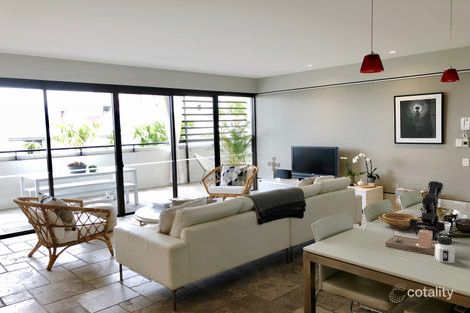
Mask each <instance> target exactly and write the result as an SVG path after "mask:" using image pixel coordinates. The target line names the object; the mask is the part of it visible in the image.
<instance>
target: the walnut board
mask: <svg viewBox="0 0 470 313" xmlns="http://www.w3.org/2000/svg"><path fill="white" fill-rule="evenodd" d="M418 244H419V238H415V237H408V236H401V235H395V234H394V235H393V236H391V237H389V239H387V240H386V241H385V248H391V249H398V250H403V251H409V252H413V253H419V254H423V255H424V254H425V255H430V256H434V257H435V244H438V241H435V240H432V246H431V248H430V247H423V246H418Z"/></svg>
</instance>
